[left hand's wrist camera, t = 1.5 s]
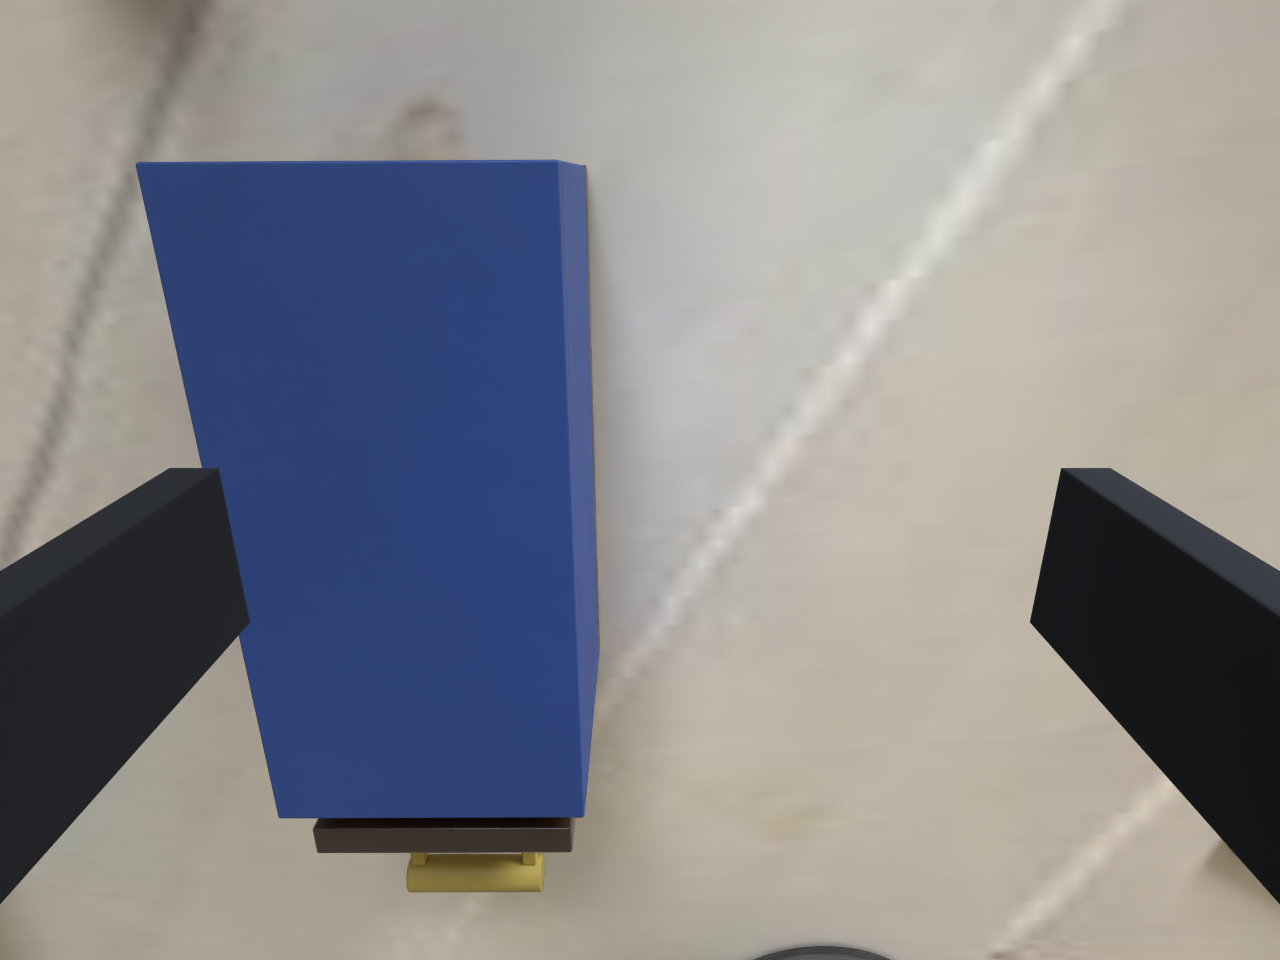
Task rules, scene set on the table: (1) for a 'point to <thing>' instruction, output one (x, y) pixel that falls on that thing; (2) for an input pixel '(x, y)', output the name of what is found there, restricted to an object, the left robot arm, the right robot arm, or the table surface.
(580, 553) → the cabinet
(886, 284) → the table surface
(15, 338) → the table surface
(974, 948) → the table surface
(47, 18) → the table surface
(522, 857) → the drawer
